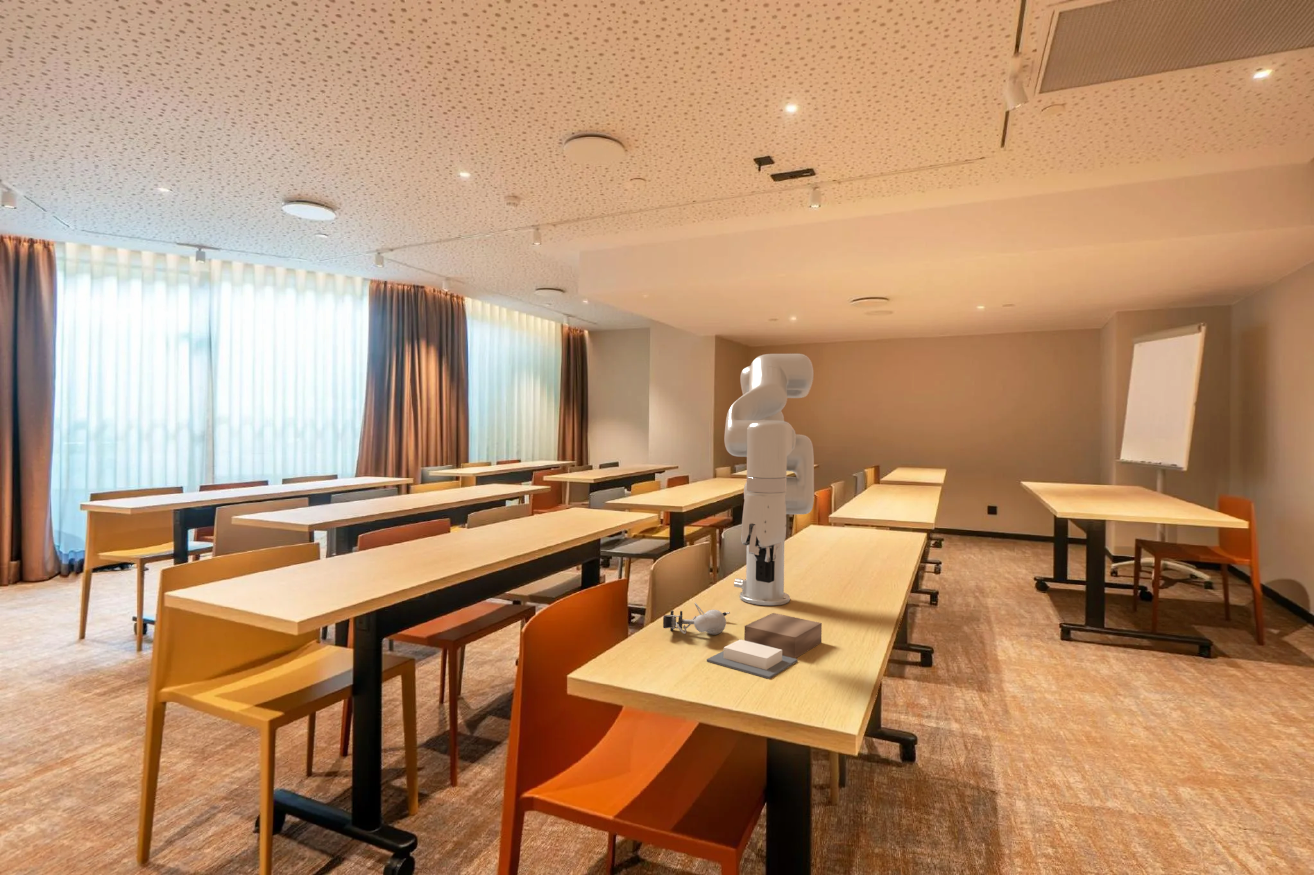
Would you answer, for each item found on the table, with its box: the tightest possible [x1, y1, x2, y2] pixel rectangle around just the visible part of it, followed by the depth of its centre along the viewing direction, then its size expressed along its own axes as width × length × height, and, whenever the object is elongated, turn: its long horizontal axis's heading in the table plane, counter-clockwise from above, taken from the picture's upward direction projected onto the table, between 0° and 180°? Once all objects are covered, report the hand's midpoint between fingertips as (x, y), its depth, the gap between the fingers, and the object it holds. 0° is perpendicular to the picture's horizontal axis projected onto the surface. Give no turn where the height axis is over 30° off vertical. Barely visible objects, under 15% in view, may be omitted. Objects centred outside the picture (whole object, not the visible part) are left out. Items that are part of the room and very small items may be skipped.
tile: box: [723, 639, 782, 670], centre depth 117 cm, size 9×6×2 cm, turn 51°
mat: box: [706, 650, 798, 680], centre depth 117 cm, size 13×11×1 cm
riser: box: [743, 612, 823, 659], centre depth 127 cm, size 11×12×4 cm
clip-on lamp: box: [662, 602, 731, 636], centre depth 135 cm, size 12×6×18 cm
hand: (764, 580), depth 121 cm, fingers closed
